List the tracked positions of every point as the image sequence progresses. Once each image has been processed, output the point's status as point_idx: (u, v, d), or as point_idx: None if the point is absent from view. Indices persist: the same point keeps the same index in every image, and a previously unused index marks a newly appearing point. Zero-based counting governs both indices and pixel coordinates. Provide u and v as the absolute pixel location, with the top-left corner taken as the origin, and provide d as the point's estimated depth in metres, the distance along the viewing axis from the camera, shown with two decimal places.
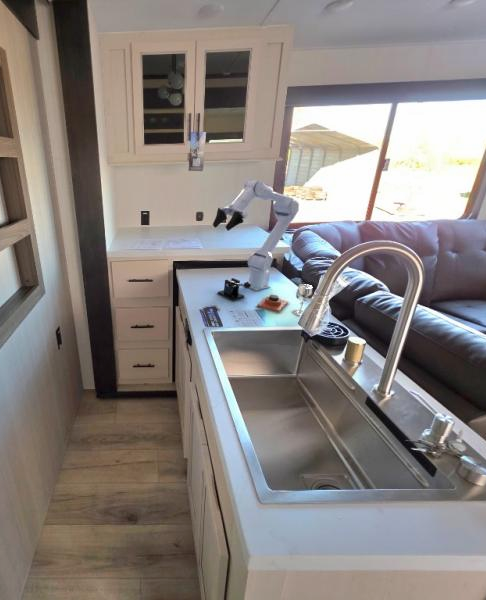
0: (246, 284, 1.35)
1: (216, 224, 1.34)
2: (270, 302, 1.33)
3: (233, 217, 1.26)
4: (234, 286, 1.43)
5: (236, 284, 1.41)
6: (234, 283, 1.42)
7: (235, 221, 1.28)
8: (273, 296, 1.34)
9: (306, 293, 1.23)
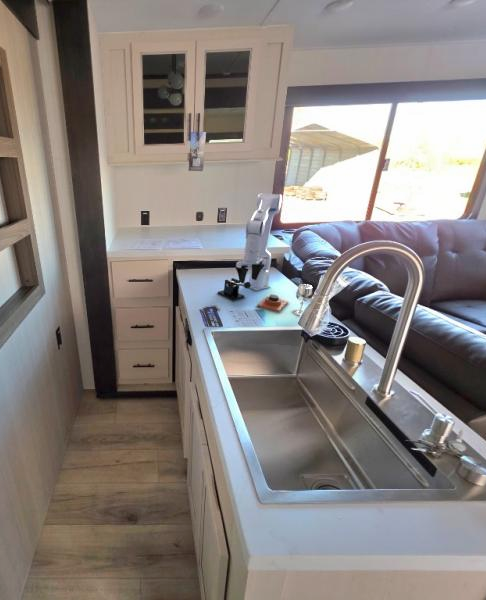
0: (246, 284, 1.35)
1: None
2: (270, 302, 1.33)
3: (260, 270, 1.34)
4: (234, 286, 1.43)
5: (236, 284, 1.41)
6: (234, 283, 1.42)
7: None
8: (273, 296, 1.34)
9: (306, 293, 1.23)
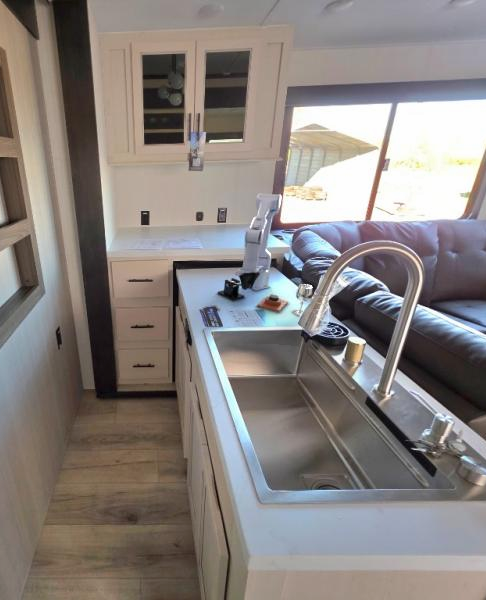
0: None
1: None
2: (270, 302, 1.33)
3: (255, 278, 1.34)
4: (234, 286, 1.43)
5: (236, 284, 1.41)
6: (234, 283, 1.42)
7: None
8: (273, 296, 1.34)
9: (306, 293, 1.23)
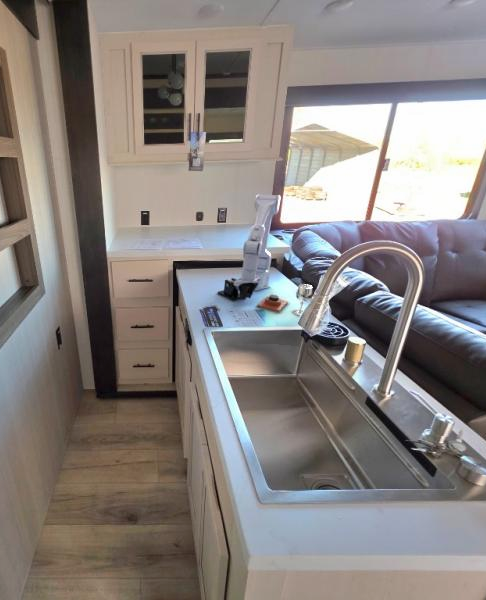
0: None
1: None
2: (270, 302, 1.33)
3: (254, 288, 1.36)
4: (233, 287, 1.43)
5: (236, 287, 1.41)
6: (234, 285, 1.42)
7: None
8: (273, 296, 1.34)
9: (306, 293, 1.23)
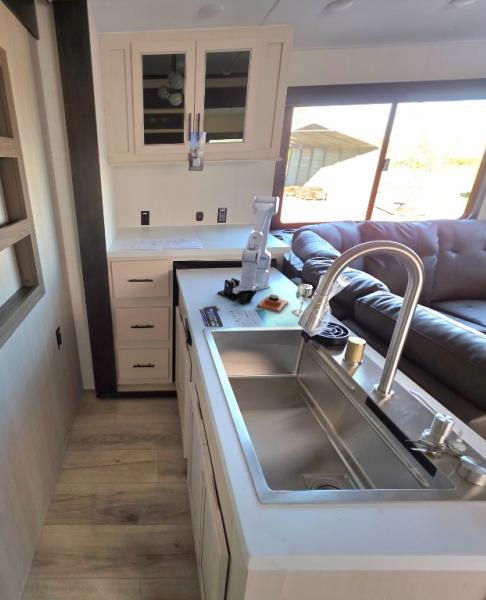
0: None
1: None
2: (270, 302, 1.33)
3: (252, 296, 1.38)
4: None
5: None
6: (234, 286, 1.42)
7: None
8: (273, 296, 1.34)
9: (306, 293, 1.23)
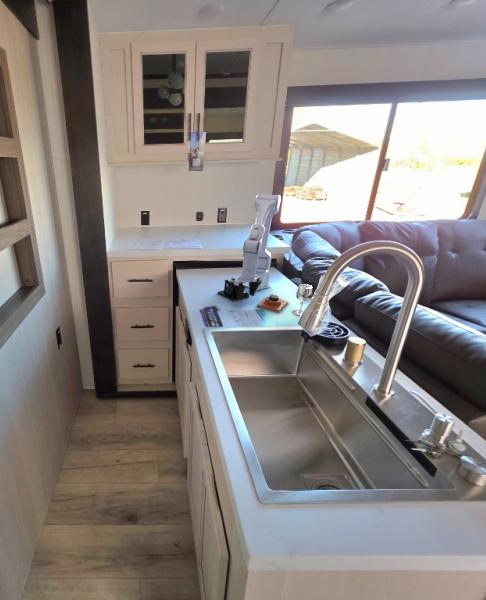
0: (245, 296, 1.37)
1: None
2: (270, 302, 1.33)
3: (257, 286, 1.37)
4: (233, 287, 1.43)
5: None
6: None
7: None
8: (273, 296, 1.34)
9: (306, 293, 1.23)
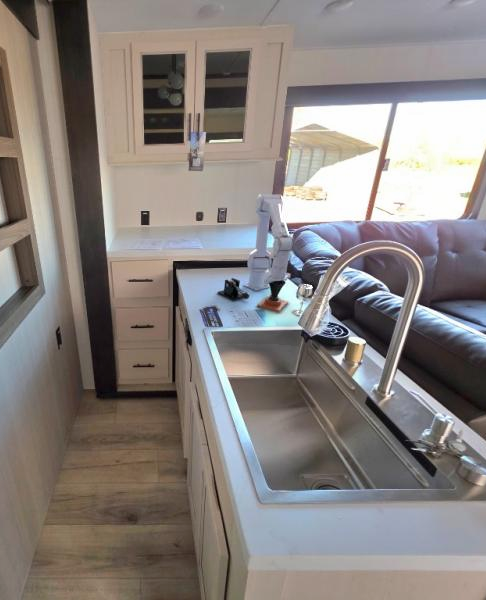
0: (245, 296, 1.37)
1: None
2: (270, 302, 1.33)
3: (281, 287, 1.32)
4: (233, 287, 1.43)
5: (236, 288, 1.41)
6: (234, 286, 1.42)
7: None
8: None
9: (306, 293, 1.23)
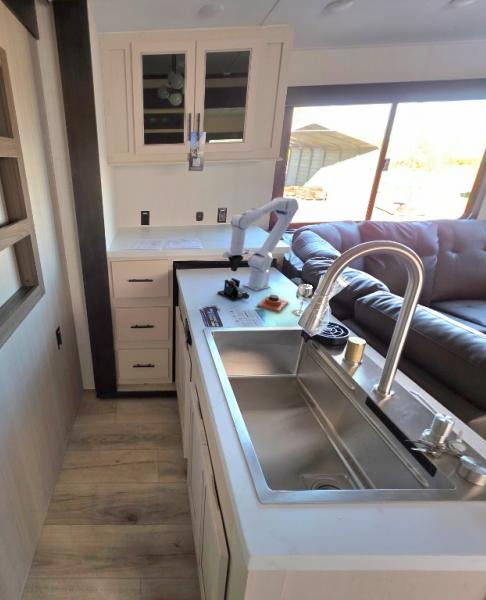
0: (245, 296, 1.37)
1: None
2: (270, 302, 1.33)
3: (239, 261, 1.44)
4: (233, 287, 1.43)
5: (236, 288, 1.41)
6: (234, 286, 1.42)
7: None
8: (273, 296, 1.34)
9: (306, 293, 1.23)
